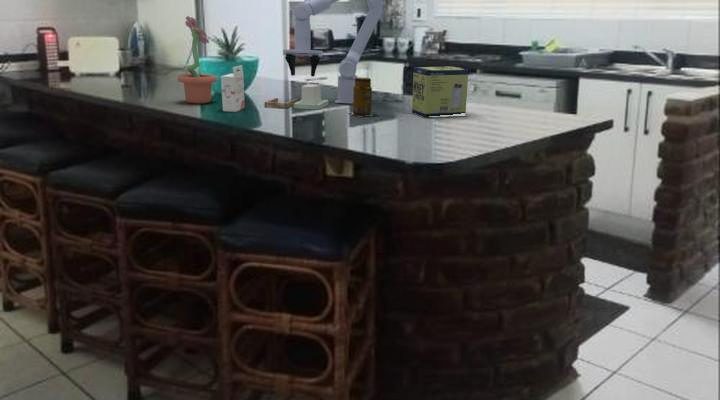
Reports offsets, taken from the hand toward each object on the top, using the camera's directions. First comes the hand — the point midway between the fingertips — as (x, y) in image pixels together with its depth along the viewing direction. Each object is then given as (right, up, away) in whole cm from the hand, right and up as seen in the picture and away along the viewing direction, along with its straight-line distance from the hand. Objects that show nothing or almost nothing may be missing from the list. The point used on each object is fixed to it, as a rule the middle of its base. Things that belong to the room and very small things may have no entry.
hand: (303, 75), depth 234 cm
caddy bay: (-7, -12, -7) cm, 16 cm away
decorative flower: (-37, -11, -4) cm, 39 cm away
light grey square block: (+4, -12, -8) cm, 15 cm away
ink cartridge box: (-22, -15, -18) cm, 32 cm away
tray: (+4, -12, -8) cm, 15 cm away
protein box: (+47, -17, -20) cm, 54 cm away
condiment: (+22, -18, -23) cm, 36 cm away
